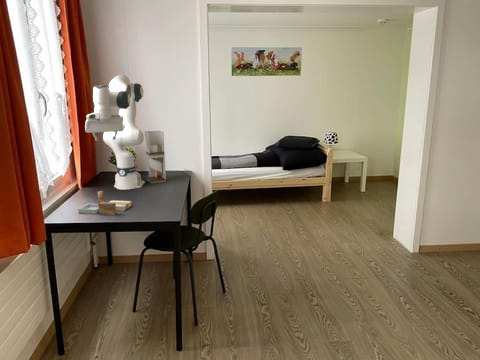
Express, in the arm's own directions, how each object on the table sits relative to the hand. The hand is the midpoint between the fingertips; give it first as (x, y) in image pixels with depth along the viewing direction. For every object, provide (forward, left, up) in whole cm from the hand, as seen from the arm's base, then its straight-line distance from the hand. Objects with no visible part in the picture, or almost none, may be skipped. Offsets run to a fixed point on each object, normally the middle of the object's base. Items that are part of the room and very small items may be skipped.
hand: (105, 140), depth 211 cm
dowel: (+8, -2, -36) cm, 37 cm away
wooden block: (+22, +9, -36) cm, 43 cm away
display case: (-52, +8, -36) cm, 64 cm away
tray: (+18, -2, -36) cm, 40 cm away
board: (+11, +9, -37) cm, 39 cm away
